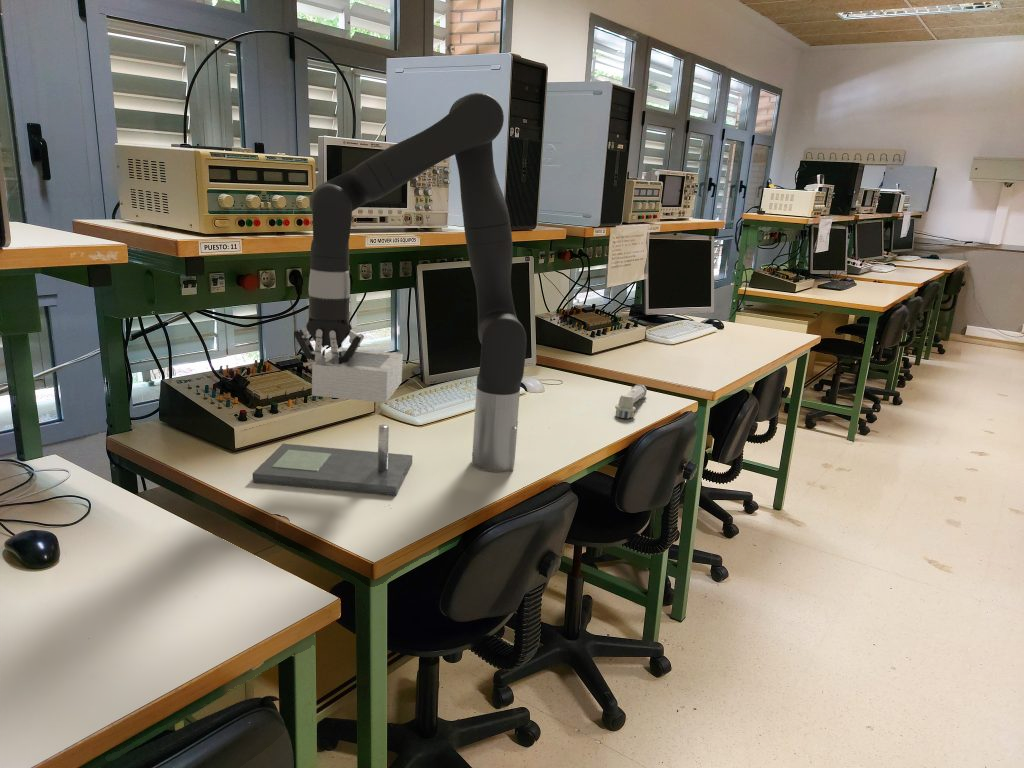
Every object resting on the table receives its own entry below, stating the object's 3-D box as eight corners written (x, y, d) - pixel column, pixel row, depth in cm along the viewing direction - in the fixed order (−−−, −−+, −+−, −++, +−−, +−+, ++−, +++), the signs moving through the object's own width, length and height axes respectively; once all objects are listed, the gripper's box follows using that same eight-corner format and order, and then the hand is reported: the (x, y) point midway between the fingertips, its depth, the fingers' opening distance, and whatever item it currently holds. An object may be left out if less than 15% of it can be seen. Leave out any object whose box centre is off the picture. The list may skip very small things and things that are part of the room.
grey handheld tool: (650, 385, 212) (635, 395, 189) (646, 407, 213) (631, 419, 190) (632, 382, 214) (615, 391, 190) (629, 403, 215) (612, 416, 191)
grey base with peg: (412, 463, 152) (413, 415, 149) (396, 496, 137) (397, 442, 134) (283, 452, 153) (282, 403, 150) (252, 482, 138) (251, 429, 135)
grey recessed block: (401, 382, 146) (402, 353, 144) (386, 402, 133) (387, 371, 131) (334, 375, 147) (334, 347, 145) (311, 395, 133) (312, 364, 131)
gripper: (370, 293, 138) (368, 379, 143) (300, 287, 139) (300, 372, 143) (360, 300, 131) (358, 390, 136) (286, 293, 131) (286, 383, 136)
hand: (328, 380), depth 140 cm, fingers closed on grey recessed block
